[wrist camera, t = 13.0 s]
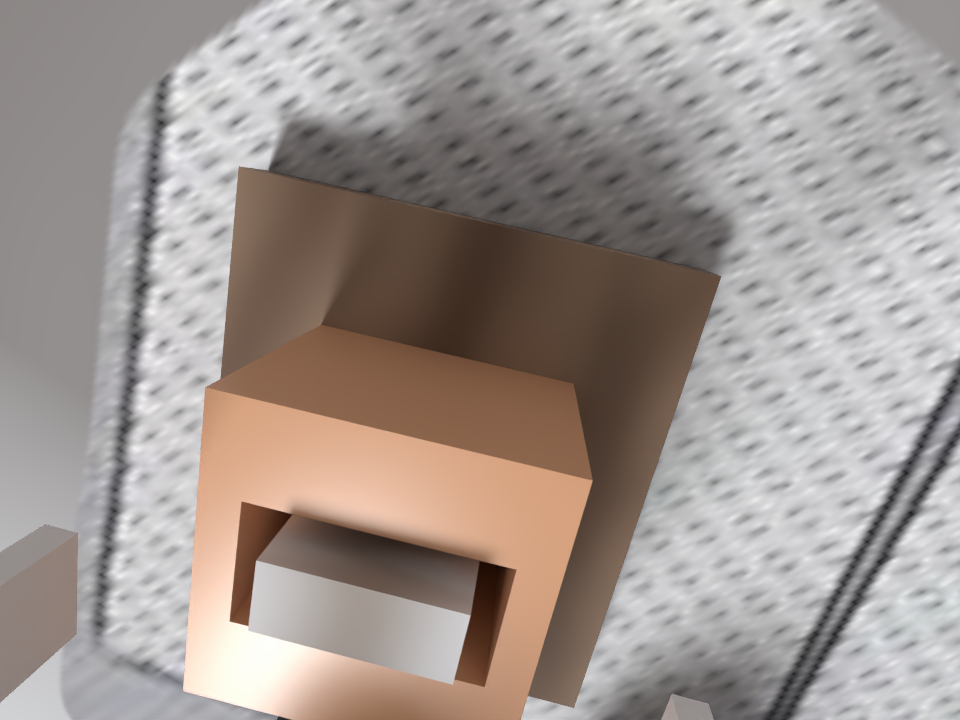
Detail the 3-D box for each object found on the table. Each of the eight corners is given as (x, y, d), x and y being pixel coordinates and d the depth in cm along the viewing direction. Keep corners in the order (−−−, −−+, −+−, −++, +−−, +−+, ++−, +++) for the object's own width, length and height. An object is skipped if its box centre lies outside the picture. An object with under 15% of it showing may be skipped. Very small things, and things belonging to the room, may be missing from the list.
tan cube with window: (573, 383, 19) (592, 480, 12) (514, 598, 22) (503, 775, 15) (321, 324, 19) (205, 387, 13) (292, 542, 22) (183, 690, 15)
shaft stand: (703, 269, 19) (862, 330, 10) (571, 668, 25) (591, 964, 15) (267, 170, 20) (19, 137, 11) (226, 579, 25) (34, 808, 16)
